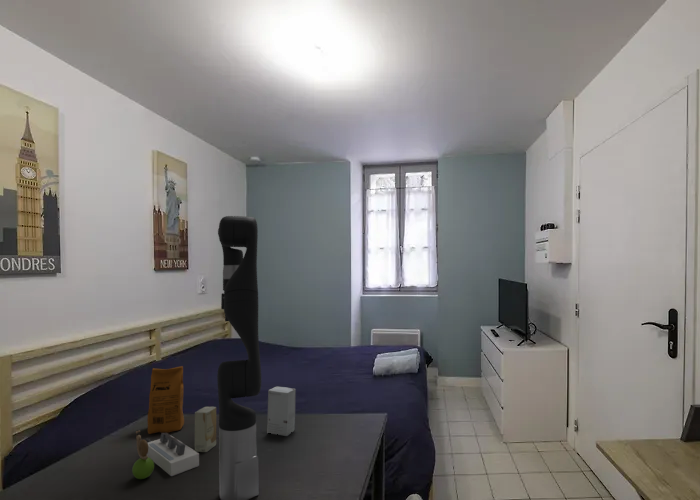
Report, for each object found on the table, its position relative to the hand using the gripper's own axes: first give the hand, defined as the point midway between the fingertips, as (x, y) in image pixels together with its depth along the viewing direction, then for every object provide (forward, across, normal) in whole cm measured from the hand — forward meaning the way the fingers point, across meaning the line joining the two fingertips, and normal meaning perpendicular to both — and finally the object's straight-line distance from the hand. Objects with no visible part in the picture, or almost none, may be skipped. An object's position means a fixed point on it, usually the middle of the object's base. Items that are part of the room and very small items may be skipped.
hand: (233, 321), depth 148 cm
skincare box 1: (+38, -8, +15) cm, 42 cm away
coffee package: (+38, +19, +17) cm, 46 cm away
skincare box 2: (+38, -16, -9) cm, 42 cm away
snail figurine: (+38, -12, +36) cm, 54 cm away
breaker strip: (+38, -3, +26) cm, 46 cm away
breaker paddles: (+35, -8, +26) cm, 44 cm away
